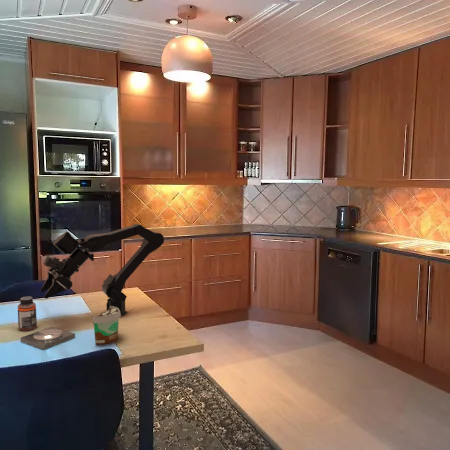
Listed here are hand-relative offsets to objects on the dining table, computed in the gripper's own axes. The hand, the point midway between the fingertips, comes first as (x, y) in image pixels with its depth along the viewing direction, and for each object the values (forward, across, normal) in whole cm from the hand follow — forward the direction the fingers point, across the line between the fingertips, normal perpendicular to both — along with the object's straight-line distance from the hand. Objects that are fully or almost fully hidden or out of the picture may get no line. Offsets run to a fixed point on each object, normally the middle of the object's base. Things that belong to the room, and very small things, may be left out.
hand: (42, 294), depth 148 cm
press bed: (+9, +15, +8) cm, 19 cm away
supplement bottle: (+12, 0, +5) cm, 13 cm away
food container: (-4, +25, +21) cm, 33 cm away
